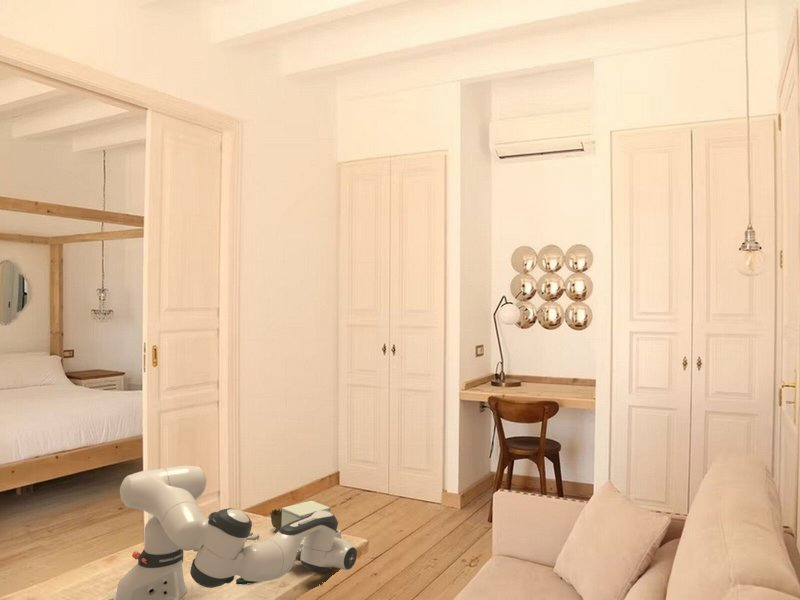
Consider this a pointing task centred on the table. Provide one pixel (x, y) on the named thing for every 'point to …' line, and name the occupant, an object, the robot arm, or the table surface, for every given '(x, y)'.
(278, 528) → the brown hollow round piece
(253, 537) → the adjustable wrench
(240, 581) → the mount
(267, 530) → the table surface
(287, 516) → the cabinet
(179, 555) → the robot arm
